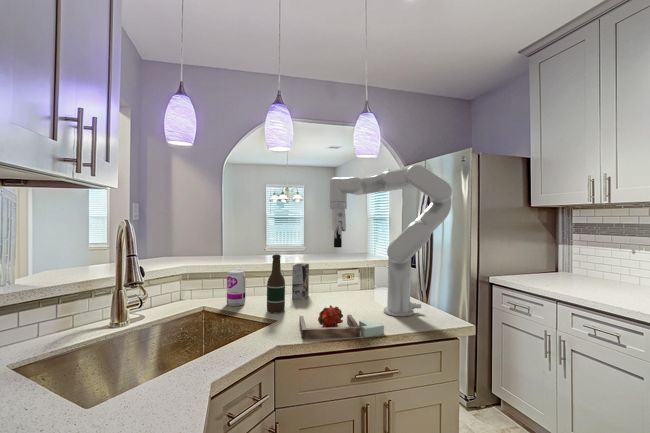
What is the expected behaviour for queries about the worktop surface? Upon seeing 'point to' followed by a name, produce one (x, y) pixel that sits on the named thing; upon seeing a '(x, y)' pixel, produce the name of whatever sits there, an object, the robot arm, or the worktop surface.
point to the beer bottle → (276, 288)
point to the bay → (330, 330)
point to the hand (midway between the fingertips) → (337, 247)
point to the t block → (370, 328)
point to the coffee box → (300, 281)
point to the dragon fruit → (330, 317)
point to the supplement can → (236, 287)
